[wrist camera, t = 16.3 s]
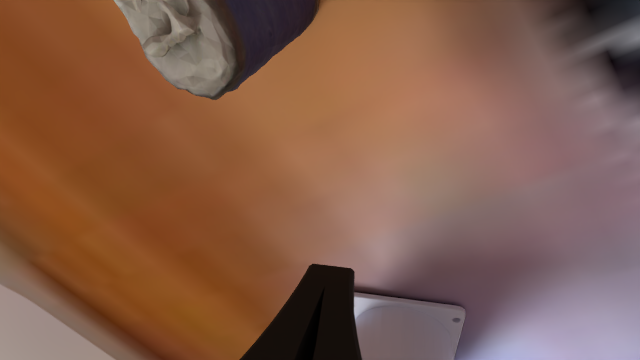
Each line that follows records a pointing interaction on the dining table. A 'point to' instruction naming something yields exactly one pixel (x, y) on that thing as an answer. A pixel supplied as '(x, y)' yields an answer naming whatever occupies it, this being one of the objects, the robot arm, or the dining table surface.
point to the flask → (214, 38)
